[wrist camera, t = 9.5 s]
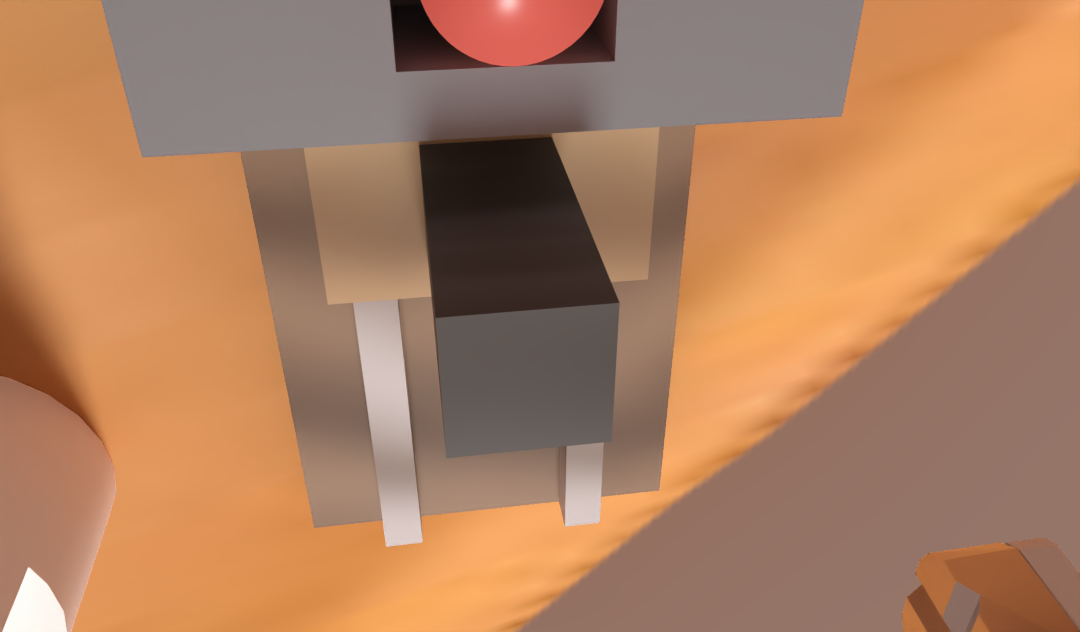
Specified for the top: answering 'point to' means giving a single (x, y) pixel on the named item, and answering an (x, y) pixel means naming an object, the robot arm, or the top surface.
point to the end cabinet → (464, 71)
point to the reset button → (511, 27)
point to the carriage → (498, 267)
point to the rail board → (413, 381)
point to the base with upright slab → (48, 509)
